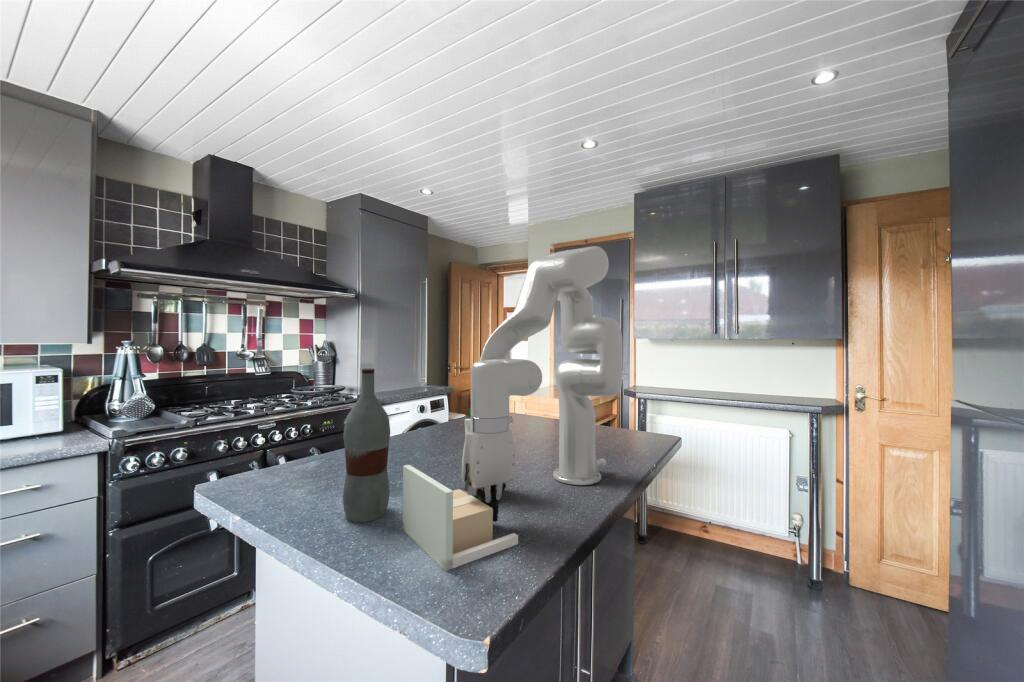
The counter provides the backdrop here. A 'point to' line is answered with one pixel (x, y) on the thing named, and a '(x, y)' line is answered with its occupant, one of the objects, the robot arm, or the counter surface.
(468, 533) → the kraft carton
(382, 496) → the bottle
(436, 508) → the display stand
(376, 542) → the counter surface
